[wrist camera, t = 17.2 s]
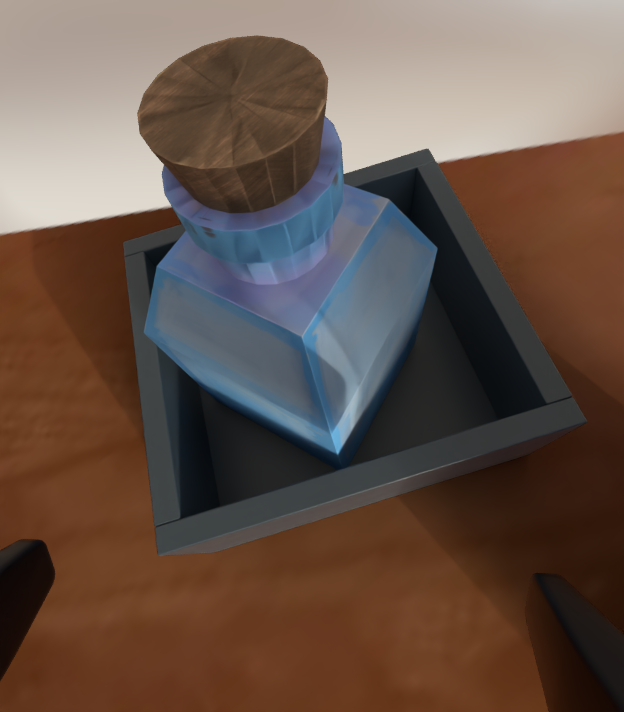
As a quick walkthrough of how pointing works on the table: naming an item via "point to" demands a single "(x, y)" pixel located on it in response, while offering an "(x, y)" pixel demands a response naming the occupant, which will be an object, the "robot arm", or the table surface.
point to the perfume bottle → (277, 248)
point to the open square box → (395, 416)
